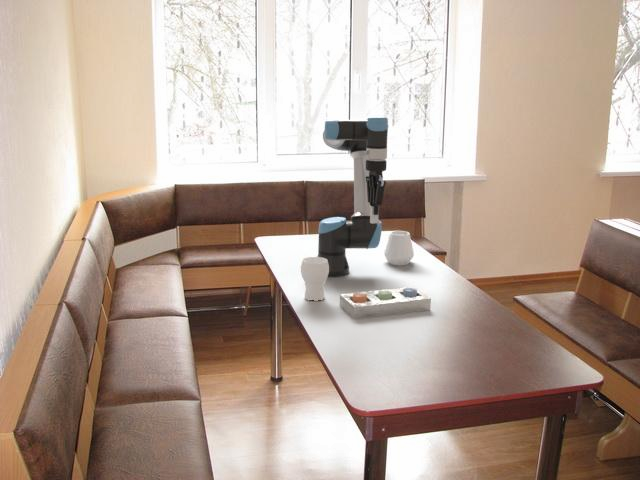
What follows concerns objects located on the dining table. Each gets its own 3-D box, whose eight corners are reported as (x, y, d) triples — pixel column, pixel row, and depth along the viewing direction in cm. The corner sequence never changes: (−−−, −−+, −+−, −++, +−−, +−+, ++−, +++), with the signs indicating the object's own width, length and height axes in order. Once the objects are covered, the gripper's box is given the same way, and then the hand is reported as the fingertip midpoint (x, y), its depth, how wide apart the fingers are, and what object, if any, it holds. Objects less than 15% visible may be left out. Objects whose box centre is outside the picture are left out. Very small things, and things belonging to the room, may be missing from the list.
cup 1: (325, 303, 247) (326, 265, 244) (297, 301, 249) (298, 263, 246) (330, 294, 257) (331, 257, 254) (304, 292, 259) (304, 255, 256)
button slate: (399, 301, 248) (400, 288, 247) (412, 300, 250) (413, 287, 249) (406, 306, 244) (406, 293, 242) (418, 304, 245) (419, 291, 244)
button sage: (375, 304, 245) (375, 291, 244) (388, 302, 247) (388, 290, 246) (381, 309, 240) (381, 295, 239) (394, 307, 242) (394, 294, 241)
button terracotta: (350, 307, 242) (350, 294, 241) (363, 305, 244) (363, 292, 242) (355, 311, 237) (356, 298, 236) (369, 310, 239) (369, 297, 238)
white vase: (418, 261, 304) (419, 231, 300) (405, 268, 293) (407, 237, 289) (391, 256, 311) (393, 227, 307) (378, 263, 300) (379, 233, 296)
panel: (339, 305, 245) (339, 294, 244) (412, 297, 255) (413, 286, 254) (354, 319, 232) (354, 307, 231) (430, 310, 242) (430, 298, 241)
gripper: (359, 157, 246) (358, 219, 252) (374, 162, 234) (371, 227, 240) (378, 157, 249) (376, 218, 255) (393, 161, 237) (390, 226, 243)
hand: (374, 222), depth 247 cm, fingers closed
